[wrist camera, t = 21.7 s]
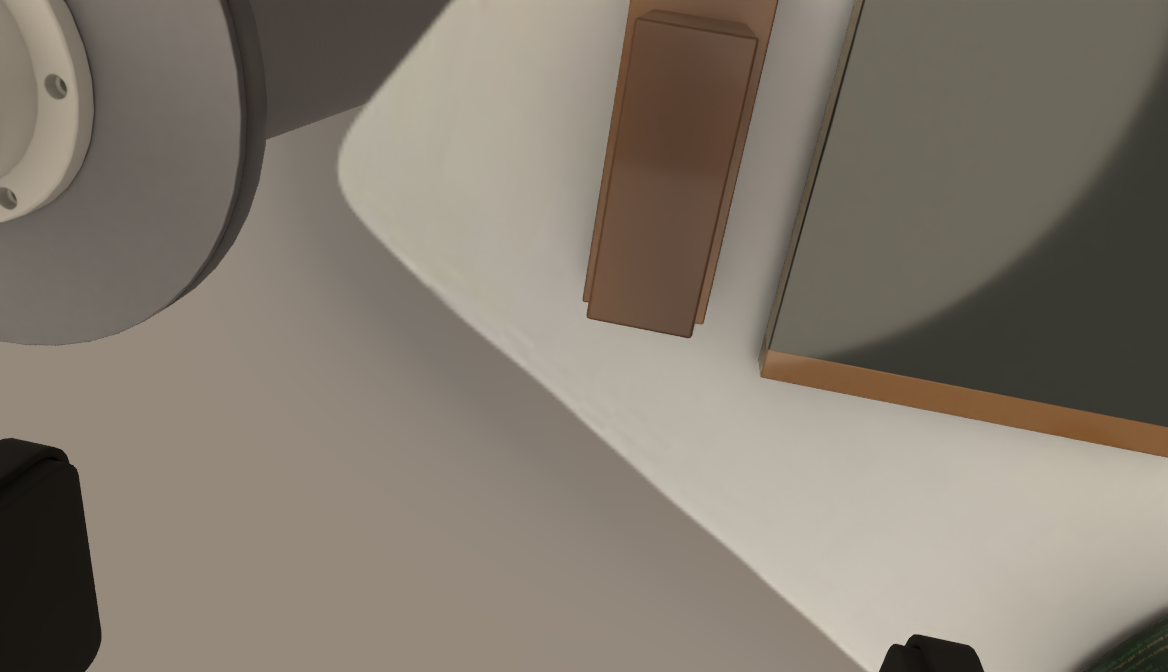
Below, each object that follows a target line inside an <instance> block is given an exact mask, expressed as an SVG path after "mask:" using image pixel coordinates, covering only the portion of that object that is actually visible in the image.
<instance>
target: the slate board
mask: <svg viewBox="0 0 1168 672" xmlns="http://www.w3.org/2000/svg"><path fill="white" fill-rule="evenodd" d="M758 361H759V369H760V377H762V378H767V379H772V380H777V381H782V382H787V383H793V384H798V385H803V386H808V387H813V388H818V389H823V390H828V391H833V392H838V393H843V394H848V395H853V396H858V397H863V398H869V399H874V400H879V401H884V402H889V403H894V404H899V405H904V406H909V407H914V408H919V409H924V410H929V411H934V412H939V413H945V414H950V415H955V416H960V417H965V418H970V419H975V420H980V421H985V422H990V423H995V424H1000V425H1005V426H1010V427H1015V428H1021V429H1026V430H1031V431H1036V432H1041V433H1046V434H1051V435H1056V436H1061V437H1066V438H1071V439H1076V440H1081V441H1086V442H1091V443H1097V444H1102V445H1107V446H1112V447H1117V448H1122V449H1127V450H1132V451H1137V452H1142V453H1147V454H1152V455H1157V456H1162V457H1167V458H1168V0H855V3H854V7H853V11H852V14H851V18H850V22H849V26H848V29H847V33H846V37H845V40H844V44H843V48H842V52H841V55H840V59H839V63H838V66H837V70H836V74H835V77H834V81H833V85H832V89H831V92H830V96H829V100H828V103H827V107H826V111H825V115H824V118H823V122H822V126H821V129H820V133H819V137H818V141H817V144H816V148H815V152H814V155H813V159H812V163H811V167H810V170H809V174H808V178H807V181H806V185H805V189H804V193H803V196H802V200H801V204H800V207H799V211H798V215H797V218H796V222H795V226H794V230H793V233H792V237H791V241H790V244H789V248H788V252H787V256H786V259H785V263H784V267H783V270H782V274H781V278H780V282H779V285H778V289H777V293H776V296H775V300H774V304H773V308H772V311H771V315H770V319H769V322H768V326H767V330H766V333H765V337H764V340H763V344H762V348H761V351H760V355H759V359H758Z"/></svg>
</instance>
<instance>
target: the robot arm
mask: <svg viewBox="0 0 1168 672" xmlns="http://www.w3.org/2000/svg"><path fill="white" fill-rule="evenodd" d="M93 116H94V103H93V88H92V77H91V73H90V69H89V65H88V60H87V56H86V52H85V48H84V44H83V42H82V39H81V37H80V34H79V32H78V29H77V27H76V24H75V22H74V19H73V17H72V14H71V12H70V10H69V8H68V6H67V4H66V3H65V1H64V0H0V222H5V221H8V220H12V219H15V218H18V217H21V216H24V215H27V214H30V213H32V212H34V211H36V210H38V209H40V208H42V207H44V206H46V205H47V204H49V203H51V202H52V201H53V200H55V199H56V198H57V197H58V196H59V195H60V194H61V193H62V192H63V191H64V190H65V189H66V188H68V187H69V185H70V184H71V182H72V180H73V179H74V177H75V176H76V174H77V173H78V171H79V169H80V168H81V166H82V164H83V161H84V158H85V155H86V152H87V149H88V146H89V144H90V141H91V133H92V124H93ZM100 643H101V626H100V620H99V612H98V606H97V599H96V592H95V585H94V578H93V571H92V564H91V557H90V550H89V543H88V536H87V531H86V523H85V516H84V509H83V502H82V495H81V488H80V482H79V475H78V472H77V469H76V468H75V467H74V466H73V465H71V464H70V463H69V460H68V457H67V455H66V454H65V453H64V452H63V451H62V450H61V449H58V448H55V447H51V446H46V445H42V444H37V443H33V442H28V441H23V440H18V439H14V438H8V439H2V440H0V672H85V671H86V670H87V669H88V667H89V666H90V664H91V663H92V662H93V660H94V658H95V656H96V655H97V652H98V650H99V647H100ZM879 672H984V670H983V667H982V665H981V662H980V660H979V657H978V656H977V654H976V652H975V650H974V649H973V648H972V647H970V646H969V645H965V644H960V643H956V642H951V641H946V640H942V639H937V638H932V637H928V636H923V635H917V634H914V635H913V636H911V637H910V638H909V639H908V641H907V643H906V645H905V646H903V645H899V644H893V645H892V646H891V647H890V648H889V650H888V652H887V654H886V656H885V659H884V661H883V664H882V666H881V668H880V671H879Z"/></svg>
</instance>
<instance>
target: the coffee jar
mask: <svg viewBox="0 0 1168 672" xmlns="http://www.w3.org/2000/svg"><path fill="white" fill-rule="evenodd" d="M1084 672H1168V617H1167V618H1165V619H1163V620H1161V621H1160V622H1158V623H1156V624H1154V625H1152V626H1150V627H1149V628H1147V629H1145V630H1142V631H1141V632H1140V633H1138V634H1136V635H1134V636H1133V637H1131V638H1130V639H1128V640H1127V641H1125V642H1124V643H1122V644H1121V645H1119V646H1117V647H1116V648H1115V649H1114V650H1112V651H1110V652H1109V653H1107V654H1106V655H1105V656H1103V657H1102V658H1100V659H1099V660H1098V661H1096V662H1095V663H1094V664H1093V665H1091V666H1090V667H1089V668H1088V669H1086V670H1085V671H1084Z"/></svg>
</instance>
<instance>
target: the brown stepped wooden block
mask: <svg viewBox="0 0 1168 672" xmlns="http://www.w3.org/2000/svg"><path fill="white" fill-rule="evenodd" d="M777 4H778V0H630V6H629V12H628V18H627V25H626V31H625V37H624V43H623V50H622V56H621V62H620V68H619V75H618V81H617V87H616V93H615V100H614V106H613V112H612V118H611V125H610V131H609V137H608V143H607V150H606V156H605V162H604V169H603V175H602V181H601V187H600V194H599V200H598V206H597V212H596V219H595V225H594V231H593V237H592V244H591V250H590V256H589V262H588V269H587V275H586V281H585V287H584V294H583V301H584V302H589V303H588V309H587V318H589V319H593V320H598V321H603V322H609V323H614V324H619V325H624V326H629V327H634V328H639V329H644V330H649V331H655V332H660V333H665V334H670V335H675V336H680V337H685V338H691V336H692V333H693V329H694V324H695V323H697V324H703V323H704V319H705V314H706V310H707V306H708V302H709V297H710V293H711V289H712V284H713V280H714V276H715V271H716V267H717V263H718V258H719V254H720V250H721V246H722V241H723V237H724V233H725V228H726V224H727V220H728V215H729V211H730V207H731V202H732V198H733V194H734V190H735V185H736V181H737V177H738V172H739V168H740V164H741V159H742V155H743V151H744V146H745V142H746V138H747V134H748V129H749V125H750V121H751V116H752V112H753V108H754V103H755V99H756V95H757V90H758V86H759V82H760V78H761V73H762V69H763V65H764V60H765V56H766V52H767V47H768V43H769V39H770V35H771V30H772V26H773V22H774V17H775V13H776V9H777Z"/></svg>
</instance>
